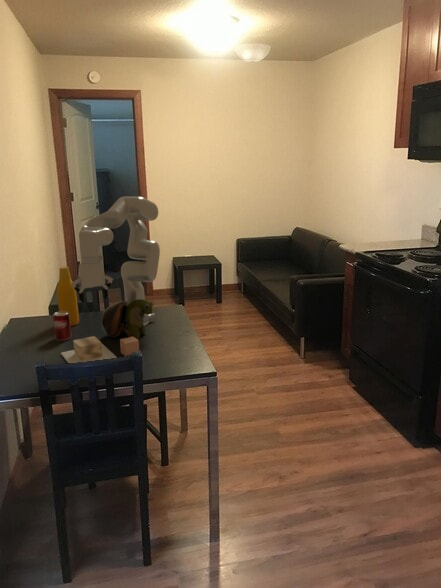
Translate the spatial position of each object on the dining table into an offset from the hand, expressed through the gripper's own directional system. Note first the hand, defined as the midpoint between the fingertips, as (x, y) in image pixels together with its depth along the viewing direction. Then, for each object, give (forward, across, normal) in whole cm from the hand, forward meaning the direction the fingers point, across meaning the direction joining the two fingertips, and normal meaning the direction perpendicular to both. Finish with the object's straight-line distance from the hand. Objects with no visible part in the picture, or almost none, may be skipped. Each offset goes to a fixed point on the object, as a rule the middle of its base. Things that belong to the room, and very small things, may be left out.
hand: (93, 300), depth 201 cm
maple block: (+22, +6, +6) cm, 23 cm away
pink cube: (+22, -10, +11) cm, 27 cm away
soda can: (+22, +10, -22) cm, 33 cm away
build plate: (+22, +6, +6) cm, 24 cm away
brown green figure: (+22, -17, -8) cm, 29 cm away
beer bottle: (+22, +2, -41) cm, 47 cm away
